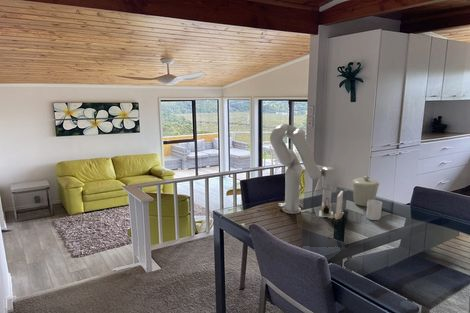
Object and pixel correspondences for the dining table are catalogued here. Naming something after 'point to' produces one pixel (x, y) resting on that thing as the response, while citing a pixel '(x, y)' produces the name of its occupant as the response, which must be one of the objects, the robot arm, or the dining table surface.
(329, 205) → the letter cube
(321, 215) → the mat
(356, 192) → the canister
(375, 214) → the mug
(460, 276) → the dining table surface
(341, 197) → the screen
